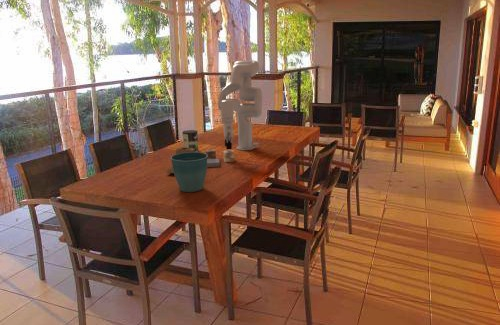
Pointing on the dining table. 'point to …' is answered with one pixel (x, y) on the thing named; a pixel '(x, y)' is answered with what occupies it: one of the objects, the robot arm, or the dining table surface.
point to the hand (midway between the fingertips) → (228, 147)
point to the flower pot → (190, 170)
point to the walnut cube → (211, 153)
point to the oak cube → (229, 156)
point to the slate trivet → (213, 162)
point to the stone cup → (178, 150)
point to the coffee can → (190, 139)
